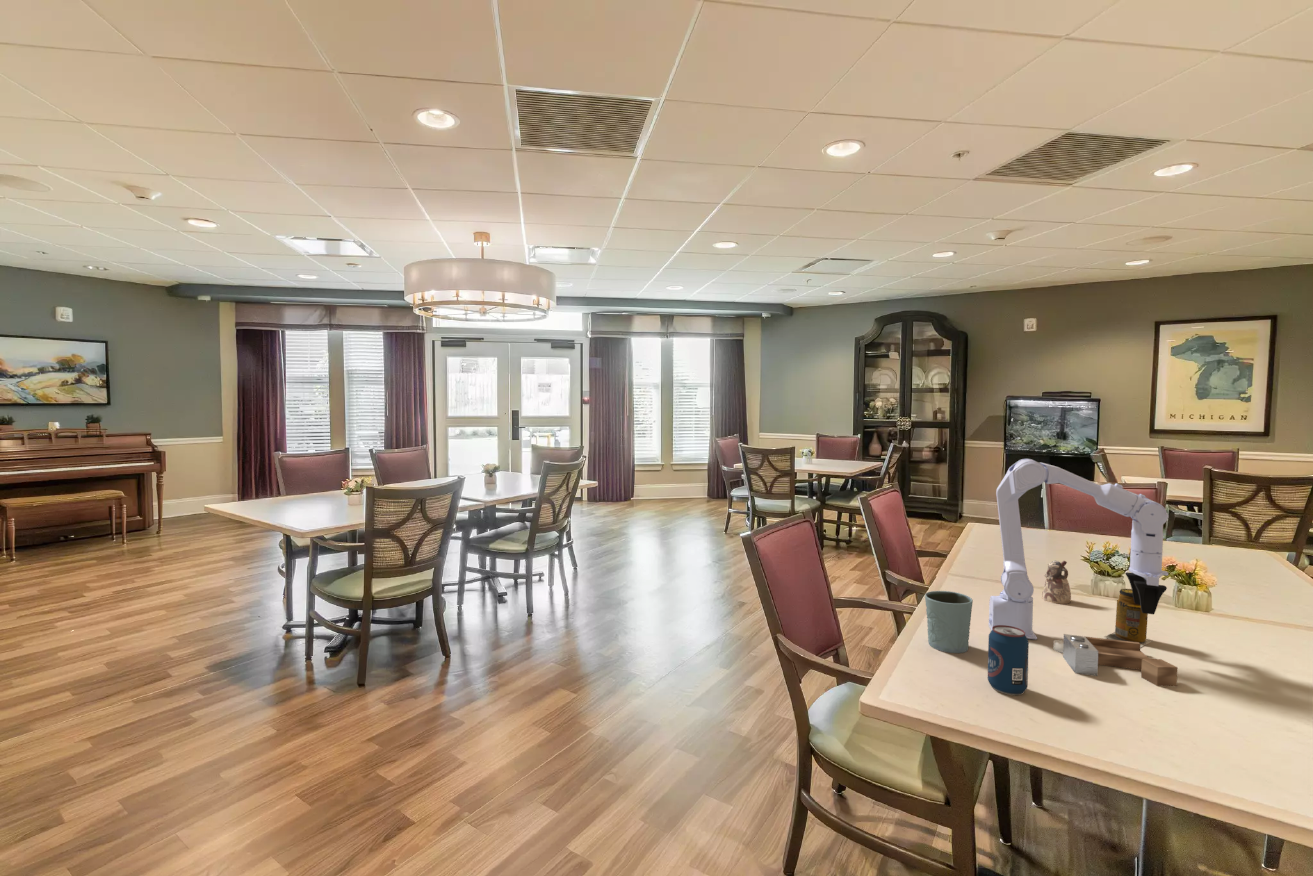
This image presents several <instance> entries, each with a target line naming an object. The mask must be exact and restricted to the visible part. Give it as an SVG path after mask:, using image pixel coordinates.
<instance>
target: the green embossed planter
mask: <svg viewBox="0 0 1313 876" xmlns="http://www.w3.org/2000/svg"><path fill="white" fill-rule="evenodd" d="M924 598H925V599H924V600H925V601H924V602H925V607H926V609H925V612H926V618H927V619H926V621H927V639H928V640H927V641H928V645H929V647H930V648H932V649H935V650H938V651H939V652H940V651H941V652H943V653H944V652H945V653H948V654H949V653H950V654H963V653H966V652H967V651H968V649H969V640H970V633H971V632H970V629H971V620H972V619H971V617H972V610H973V602H974V601H973V600H974V599H972V598H971V596H969V595H967V594H963V593H960V592H955V591H951V590H950V591H949V590H948V591H947V590H931V591H927V592H926V593H924Z"/></svg>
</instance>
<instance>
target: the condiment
mask: <svg viewBox="0 0 1313 876" xmlns="http://www.w3.org/2000/svg"><path fill="white" fill-rule="evenodd" d="M1118 596H1119V597H1118V598H1117V600H1116V613H1115V627H1114V632H1113V633H1109V634H1108V635H1105V636H1104V639H1112V640H1121V641H1130V642H1139V643H1140V649H1141V648H1143V647H1144V646H1146V645H1149V643H1151V642H1154V640H1153V639H1149V638H1147V631H1148V628H1147V627H1148V617H1149V616H1148V615H1149V614H1146V613H1142V610H1141V606H1140V604H1135V602H1134V599H1133V594H1132V589H1131V588H1121V589H1120V590H1119V595H1118Z"/></svg>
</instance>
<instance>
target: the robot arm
mask: <svg viewBox="0 0 1313 876" xmlns="http://www.w3.org/2000/svg"><path fill="white" fill-rule="evenodd" d="M1043 483H1045V484H1047V485H1054V484H1061V485H1064V486H1066V487H1068V488H1071V489H1073V490H1076V491H1078V492H1081V493H1083V494H1086V495H1089V496H1091V497H1093V498H1094V501H1095V503H1096V504H1097V505H1098V506H1100V507H1102V508H1105V509H1108V510H1109V511H1111V512H1114V513H1117V514H1118V515H1121V516H1124V517H1127V518H1129V517H1130V518H1131V519H1132V521H1131V522H1132V523H1131V531H1130V534H1131V535H1130V555H1129V557H1130V558H1129V567H1128V572H1125V576H1126V578H1127V579H1128V582H1129V584H1130V589H1132V594H1133V599H1134V602H1135V604H1140V606H1141V610H1142V613H1146V614H1148V615H1155V613H1156V611H1157V608H1158V605H1159V601H1160V600H1161V598H1162V596H1163V594H1165V592H1166V591H1167V589H1168V587H1167V586H1166V585H1161V584H1160V578H1162V577H1163V576H1169V572H1168V571H1166V570H1163V547H1164V546H1163V545H1164V544H1163V543H1164V525H1165V523H1167V521H1168V519H1169V514H1168V513H1167V510H1166V508H1165V507H1164V506H1163V505H1162V504H1161V503H1159V502H1157V501H1153V500H1152V499H1150V498H1148V497H1146V495H1144V494H1142V493H1139V494H1137V493H1135V492H1132V491H1129V490H1128V489H1124V486H1123V485H1122V484H1119V483H1115V484H1112V483H1111V482H1110V483H1105V484H1098V483H1096V482H1093V481H1091V480H1088V479H1086V478H1084V477H1083V476H1079V475H1077V474H1075V473H1073V472H1070V471H1069V470H1066V469H1063V468H1061V467H1059V466H1055V465H1051V464H1050V463H1045V462H1042V461H1041V462H1038V461H1036V460H1034V459H1031V458H1022V459H1019V460H1018V461H1016V462H1015V463H1013V464H1012V465H1011V466H1009V468H1008V470H1007V471H1006V473H1005V475H1004V477H1003V478H1002V480H1001V481H1000V482H999V484H998V486H997V488H996V489H995V491H996V492H995V495H996V503H997V513H998V522H999V530H1000V531H999V532H1000V538H1001V548H1002V557H1003V558H1002V559H1003V562H1002V563H1003V571H1002V573H1001V575H1000V583H1001V585H1002V586H1003V589H1002V591H1001V592H999V595H990V596H989V604H988V605H989V606H988V626H989V628H990V631H992V627H993V626H996V625H1006V626H1012V627H1016V628H1019V629H1021V630H1023V631H1024V632H1025V636H1026V638H1027V639H1029V640H1038V637H1037V635H1036V634H1035V633H1034V631H1033V619H1034V618H1033V617H1034V598H1033V595H1034V585H1033V583H1032V582H1031V580H1030V579H1029V576H1028V570H1027V565H1026V561H1025V549H1024V542H1023V541H1024V540H1023V533H1022V525H1021V522H1022V521H1021V514H1020V506H1019V499H1020V498H1021V497H1022V496H1023V495H1024V494H1025V493H1027V492H1028V491H1029V490H1031V489H1034V488H1036V487H1039V486H1040V485H1042V484H1043Z"/></svg>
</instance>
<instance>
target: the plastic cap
mask: <svg viewBox="0 0 1313 876" xmlns="http://www.w3.org/2000/svg"><path fill="white" fill-rule="evenodd" d="M1063 642H1064V639H1063V640H1062V639H1054V640H1053V646H1052V647H1053V648H1052V649H1053V650H1054V651H1055V652H1057V653H1061V654H1063Z"/></svg>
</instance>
